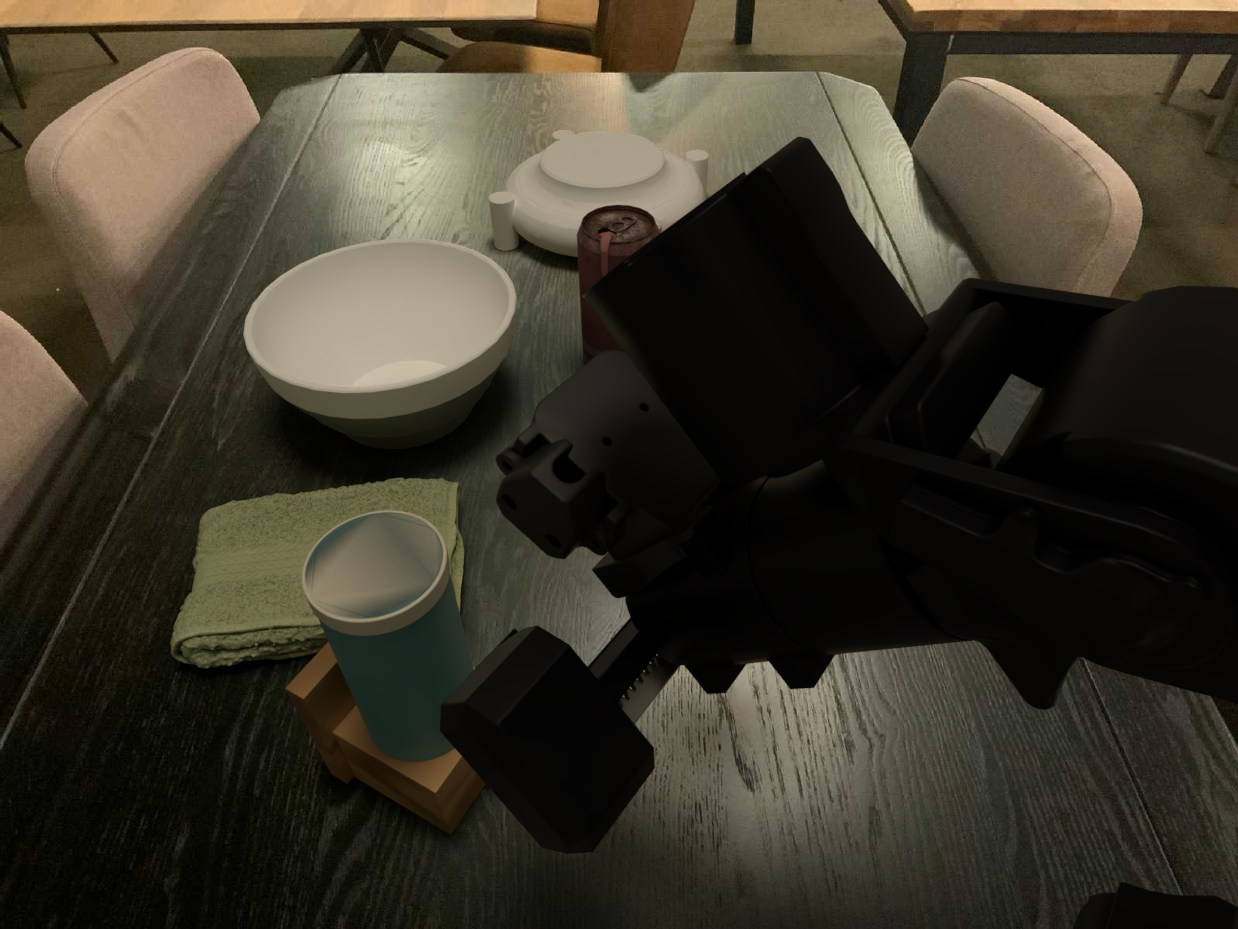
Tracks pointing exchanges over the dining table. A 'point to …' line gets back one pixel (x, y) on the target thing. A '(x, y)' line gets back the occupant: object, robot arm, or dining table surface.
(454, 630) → the teal cup
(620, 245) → the can
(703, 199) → the round stand with pegs
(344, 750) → the stepped wooden block
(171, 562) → the dining table surface
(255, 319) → the bowl
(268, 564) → the washcloth
